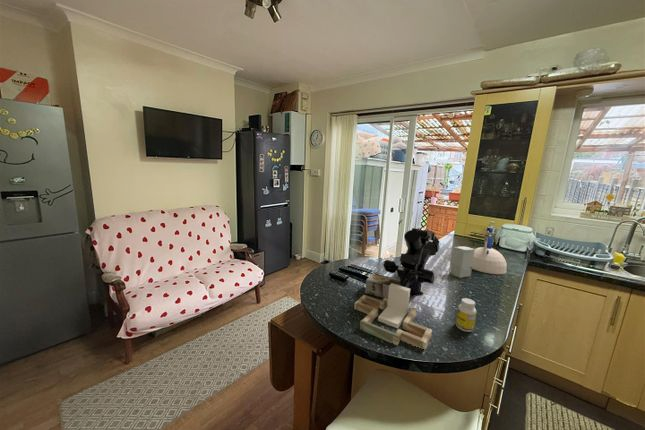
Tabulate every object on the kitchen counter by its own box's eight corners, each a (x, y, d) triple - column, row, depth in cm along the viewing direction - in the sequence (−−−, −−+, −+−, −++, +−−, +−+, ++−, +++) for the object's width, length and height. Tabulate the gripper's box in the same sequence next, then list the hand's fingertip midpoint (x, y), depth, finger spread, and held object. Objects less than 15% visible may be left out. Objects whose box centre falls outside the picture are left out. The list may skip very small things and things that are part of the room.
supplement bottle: (452, 322, 89) (456, 296, 88) (466, 322, 90) (470, 296, 88) (461, 332, 84) (466, 305, 82) (477, 332, 85) (481, 305, 83)
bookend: (389, 307, 97) (391, 283, 96) (407, 314, 94) (410, 288, 92) (377, 320, 88) (380, 294, 87) (397, 328, 85) (400, 300, 83)
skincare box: (459, 278, 129) (463, 250, 126) (449, 273, 134) (453, 246, 131) (471, 276, 132) (475, 248, 129) (460, 271, 137) (464, 245, 135)
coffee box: (364, 293, 107) (403, 304, 100) (365, 279, 106) (405, 289, 99) (371, 286, 115) (408, 295, 108) (372, 272, 114) (410, 281, 107)
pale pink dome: (505, 266, 150) (510, 236, 146) (507, 278, 132) (513, 244, 129) (465, 258, 160) (470, 230, 157) (463, 268, 143) (468, 237, 140)
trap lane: (366, 297, 104) (367, 290, 104) (437, 322, 89) (438, 314, 89) (340, 321, 87) (341, 313, 87) (422, 356, 72) (423, 347, 72)
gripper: (387, 240, 102) (373, 274, 95) (436, 250, 92) (425, 289, 85) (392, 254, 110) (379, 287, 103) (438, 265, 100) (428, 302, 93)
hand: (401, 291), depth 96 cm, fingers closed
